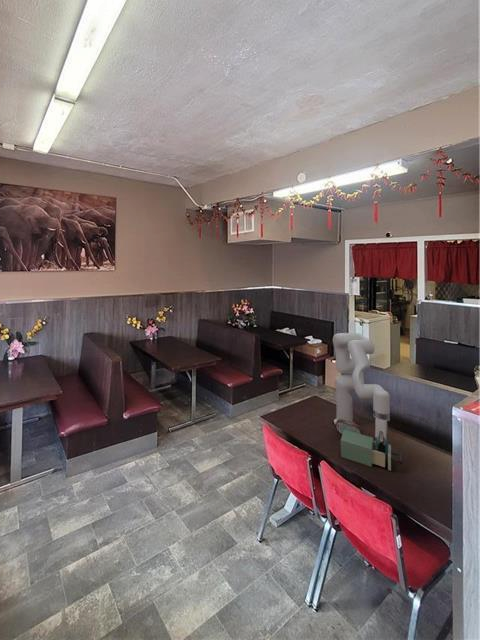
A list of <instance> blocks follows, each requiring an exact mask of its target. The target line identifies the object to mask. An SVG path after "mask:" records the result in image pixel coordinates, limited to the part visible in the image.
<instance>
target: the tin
mask: <svg viewBox="0 0 480 640" xmlns="http://www.w3.org/2000/svg"><path fill="white" fill-rule="evenodd" d="M354 423H355V422H354ZM354 423H351V422H348V421H346V420H343V419H339V420H338V421H337V422H336V425H335V429H336V431H337V432H338V433H339V434H341V435H342V434H343V431H344V430H348V431H351V432H355V433H358V434H362V435H364V430H363V429H362V427H361V426H360V425H359V424H357V423H355V424H354Z"/></svg>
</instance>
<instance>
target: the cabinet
mask: <svg viewBox="0 0 480 640" xmlns="http://www.w3.org/2000/svg"><path fill="white" fill-rule="evenodd" d="M373 441H374V437H372V436H368V435H365V434H363V435H362V434H358V433H355V432H351V431H348V430H344V431H343V434H341V438H340V457H341V458H343V459H345V460H350V461H352V462H355V463H359V464H361V465H364V466H368V467H370V468H372V467H373V463H372V445H373Z"/></svg>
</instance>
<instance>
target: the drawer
mask: <svg viewBox="0 0 480 640" xmlns="http://www.w3.org/2000/svg"><path fill="white" fill-rule="evenodd" d="M392 455H395V456H398V459H396V458H393V457H392ZM392 461H393V462H397V463H399V464H400V465H402V464H403V461H404V460H403V454H402V453H396V452H393V451H392V445H391V444H389V443H388V451H387V470H388V471H390V472H391V471H392ZM372 465H376V466H380V467H381V468H386V453H382V452H379V451H376V440H373V445H372Z"/></svg>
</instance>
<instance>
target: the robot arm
mask: <svg viewBox="0 0 480 640" xmlns="http://www.w3.org/2000/svg"><path fill="white" fill-rule="evenodd" d="M332 345H333V348H334V352H335V367H336V370H337V372H338V373H340V374H341V375H337V376H335V378H334V386H335V398H336V401H335V403H336V404H335V405H336V407H335V408H336V409H335V411H336V415H335V418H334V419H333V424H334V425H335V426H336V422H337V421H338V420H339V419H343V420H346V421H348V422H351V423H354V424H356V423H355V422H354V421H353V418H354V412H353V408H354V407H353V406H354V401H353V396H352V394H350V392H355V395H356V396H357V397H358V398H360V399H362V400H372V413H373V417H374V418H375V420H374V426H375V427H374V430H375V431H374V432H375V433H374V437H375V439H376V438H378V451H379V452H382V453H385V440H386V439H387V437H388V436H387V435H388V422H389V421H391V395H390V393H389V391H387V390H385V389H384V388H383V386H382V385H380V384H377V383H365V376H364V373H365V371H366V370H368V369H370V368H371V366H372V363H371V361H370V359H369V356H368V355H373V354H374V353H375V345H374V343H373V342H372V341H371V340H370V339H369V338H368V337H366V336H365V335H363V334H361V333H359V332H339V333H335V334H334V335H333V337H332ZM383 438H384V439H383ZM385 454H386V453H385Z"/></svg>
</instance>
